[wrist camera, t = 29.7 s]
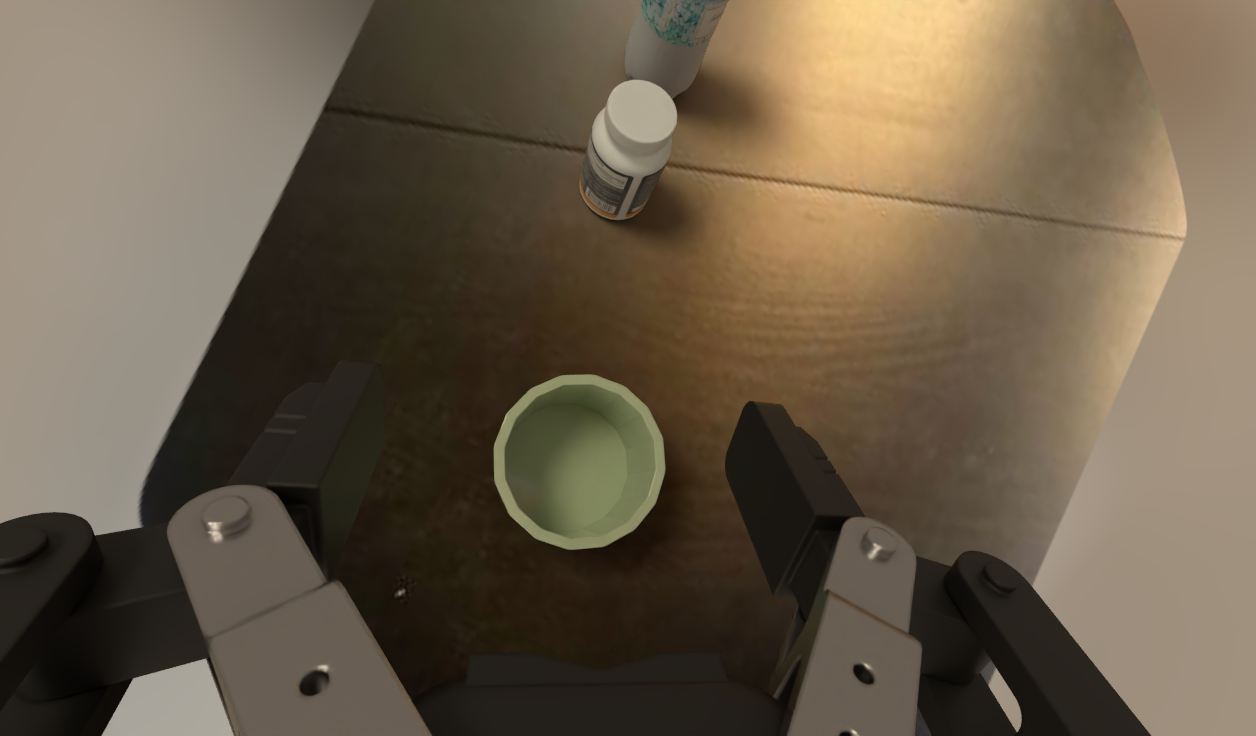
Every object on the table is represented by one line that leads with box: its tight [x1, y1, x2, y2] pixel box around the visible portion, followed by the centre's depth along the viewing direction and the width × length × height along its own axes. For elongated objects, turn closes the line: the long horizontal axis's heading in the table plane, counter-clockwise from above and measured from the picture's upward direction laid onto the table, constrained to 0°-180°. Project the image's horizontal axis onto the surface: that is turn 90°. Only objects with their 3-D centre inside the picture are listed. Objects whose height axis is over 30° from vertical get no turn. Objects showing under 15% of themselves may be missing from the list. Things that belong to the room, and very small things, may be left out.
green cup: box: [494, 375, 666, 550], centre depth 35 cm, size 10×10×8 cm
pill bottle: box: [580, 80, 677, 220], centre depth 40 cm, size 6×6×10 cm
